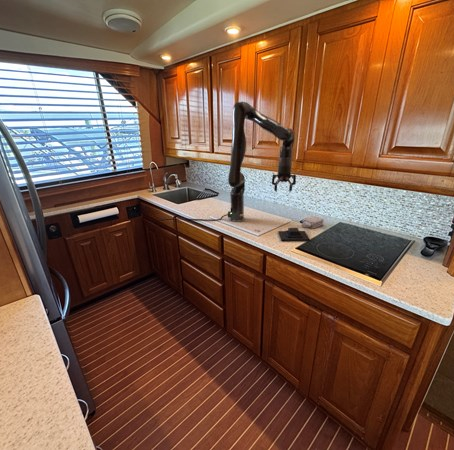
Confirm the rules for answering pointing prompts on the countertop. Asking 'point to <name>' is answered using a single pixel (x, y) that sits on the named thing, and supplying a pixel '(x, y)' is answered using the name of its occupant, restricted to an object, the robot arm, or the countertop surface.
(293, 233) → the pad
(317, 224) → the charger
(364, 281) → the countertop surface
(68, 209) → the countertop surface
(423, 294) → the countertop surface
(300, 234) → the base pad
